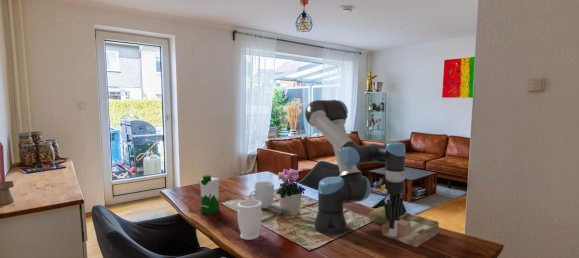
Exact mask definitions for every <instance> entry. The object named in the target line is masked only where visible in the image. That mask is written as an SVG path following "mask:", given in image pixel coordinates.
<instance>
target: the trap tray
mask: <svg viewBox="0 0 579 258" xmlns="http://www.w3.org/2000/svg"><path fill="white" fill-rule="evenodd" d="M399 219H402V220H406V221H409V222H411V233H410V234H408V235H407V236H405V237H404V236H401V235H399V234H397V236H396V237H394V236H391V235H389V222H387V223H385V224H383V225H381V235H382V236H385V237H387V238H390V239H392V240H395V241H398V242H401V243H404V244H406V245H409V246H411V247H414V248H418V247H419V246H421V245H422V243H423V244H425V241H426V242H427V241H429V240H430V239H432V238H434V237H435V236H436V234H437V235H438V234H439V226H440V225H439V224H440V222H439V221H438V220H437V221H436V220H433V219H430V218H427V217H424V216H420V215H416V214H413V213H410V212H406V211H405V212H404V214H401V217H400V218H399ZM433 236H434V237H433ZM431 237H432V238H431ZM428 239H429V240H428Z"/></svg>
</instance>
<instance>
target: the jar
mask: <svg viewBox="0 0 579 258" xmlns="http://www.w3.org/2000/svg"><path fill="white" fill-rule="evenodd" d="M261 205H262V203H261V202H260V201H258V200H255V199H251V200H249V199H245V200H240V201H239V202H237V205H236V206H237V208H238V210H237V223H238V229H239V231H240V238H241V239H243V240H246V241H247V240H248V241H249V240H250V241H251V240H255V239H258V238H259V237H260V234H261V233H260V230H261V227H262V220H263V213H262V212H263V211H262V208H261Z"/></svg>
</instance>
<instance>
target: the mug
mask: <svg viewBox="0 0 579 258" xmlns="http://www.w3.org/2000/svg"><path fill="white" fill-rule="evenodd" d="M253 193H254V198H255V199H254V200H258V201H260V202H261V203H262V205H261V209H268V208H270V207H271V206H272V204H273V202H274V197H275V183H274V182H271V181H257V182H255V183H254V189H253V190H252V189H251V191H250V192H249V193H248V200H252V198H251V197H252V194H253Z"/></svg>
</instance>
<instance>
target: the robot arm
mask: <svg viewBox="0 0 579 258" xmlns="http://www.w3.org/2000/svg"><path fill="white" fill-rule="evenodd" d="M348 113H349V109H348V107H347V105H346V103H345V102H344V101H341V100H338V99H331V100H330V99H328V100H325V99H322V100H320V99H316V100H313V101H311V102H310V103H309V104H307V106H306V107H305V111H304V116H305V119H306V121H307V123H308V124H309V125H310V126H311V127H312V128H316V130H318V132H319V133H320V134H322V136H323V137H325V139H326V140H327V141H328V142H329V143H330V144H331V145H332V148H333V152H334V155H335V159H336V163H337V166H338V170H339V175H338V176H326V177H324V178H322V179H321V180H319V183H318V189H317V191H318V201H317V202H318V206H317V208H318V210H317V213H316V216H315V220H314V229H315V230H316V231H317V232H319V233H321V234H327V235H328V234H329V235H339V234H342V233H345V232H346V231H347V230H348V224H347V221H346V218H345V214H344V205H346V204H351V203H352V204H353V203H358V202H362V201H365V200H367V199H368V198H369V196H370V194H371V191H372V190H371V189H372V188H371V182H370V180H369V178H368V177H366V176H364V175H363V174H362V173H363V172H362V171H361V170H359V169H358V167H357V166H358V165H364V164H371V163H381V164H385V171H384V173H385V174H384V178H385V181H384V189H385V190H386V191H387V192H386V198H383V199H382V202H383V204H384V205H383V206H385V214H386V220H389V235H391V236H394V237H396V236H397V220H398V221H400V219H399V218H400V217H401V216H402V211H403V204H404V199H405V196H406V195H405V194H404V193H402V192H403V191H404V190H405V181H404V180H405V176H406V172H405V166H406V154H407V153H406V145H405V143H403V142H400V141H399V142H398V141H397V142H396V141H390V142H389V141H388V142H387V143H386V144H385V145H384V144H383V145H382V144H378V143H368V144H366V145H358V144H357V143H355V142H354V140H352V139H351V138H350V137H349V136H348V133H347V130H346V127H345V125H346V123H347V118H348V116H349V115H348Z"/></svg>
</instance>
